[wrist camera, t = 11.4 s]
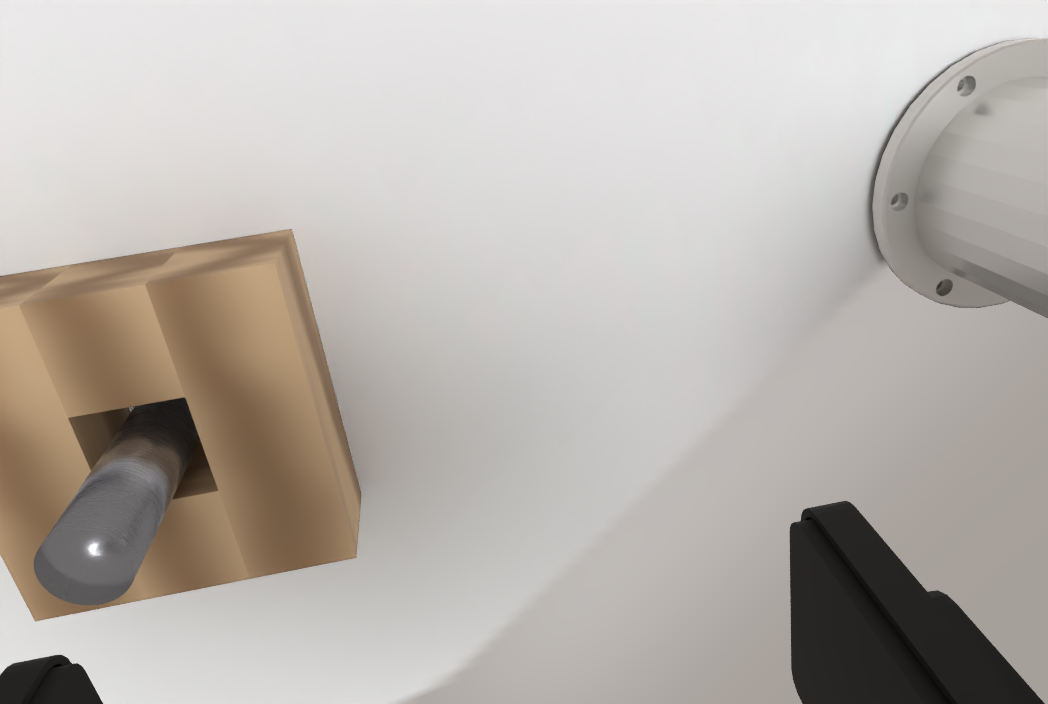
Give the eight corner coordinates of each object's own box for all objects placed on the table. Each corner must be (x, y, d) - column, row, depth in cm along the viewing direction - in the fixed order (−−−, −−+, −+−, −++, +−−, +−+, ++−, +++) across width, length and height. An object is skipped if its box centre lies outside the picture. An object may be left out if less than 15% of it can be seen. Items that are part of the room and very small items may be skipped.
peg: (204, 364, 35) (116, 522, 24) (223, 421, 36) (147, 595, 25) (137, 376, 35) (18, 540, 24) (158, 433, 36) (54, 613, 25)
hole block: (291, 229, 33) (274, 263, 29) (361, 494, 39) (356, 557, 35) (-45, 283, 32) (-119, 327, 28) (78, 548, 38) (35, 621, 33)
